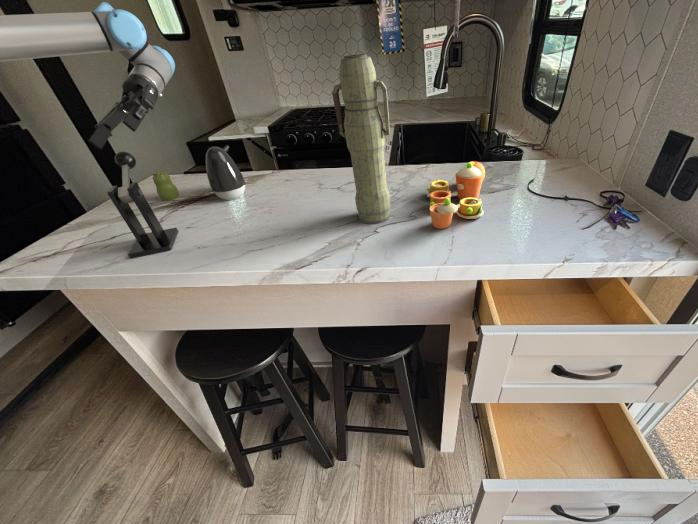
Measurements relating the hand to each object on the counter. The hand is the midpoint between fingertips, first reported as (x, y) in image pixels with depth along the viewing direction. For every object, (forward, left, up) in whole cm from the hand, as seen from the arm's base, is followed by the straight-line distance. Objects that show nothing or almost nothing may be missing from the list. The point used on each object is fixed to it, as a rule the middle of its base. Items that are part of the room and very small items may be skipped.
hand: (111, 136), depth 84 cm
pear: (+6, +11, -23) cm, 26 cm away
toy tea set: (+64, -57, -23) cm, 89 cm away
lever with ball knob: (-1, -11, -9) cm, 14 cm away
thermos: (+46, -45, -23) cm, 68 cm away
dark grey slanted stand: (-3, -17, -23) cm, 28 cm away
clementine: (+79, -49, -23) cm, 96 cm away
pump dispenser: (+22, +1, -23) cm, 32 cm away
